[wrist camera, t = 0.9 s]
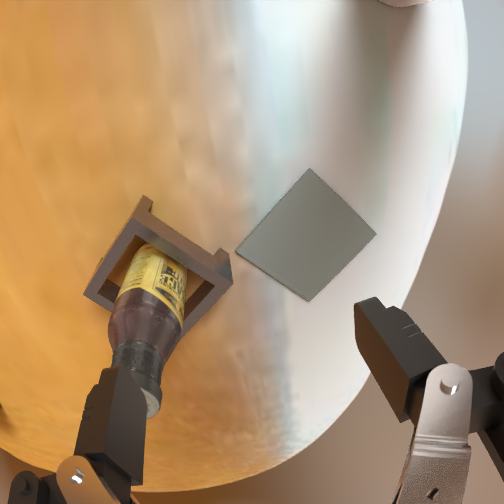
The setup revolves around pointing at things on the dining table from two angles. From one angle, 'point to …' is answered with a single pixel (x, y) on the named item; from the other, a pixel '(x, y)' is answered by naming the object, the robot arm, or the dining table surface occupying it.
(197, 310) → the grey square frame stand
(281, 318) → the dining table surface
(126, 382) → the robot arm
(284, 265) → the slate mat
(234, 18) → the dining table surface
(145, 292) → the sauce bottle
